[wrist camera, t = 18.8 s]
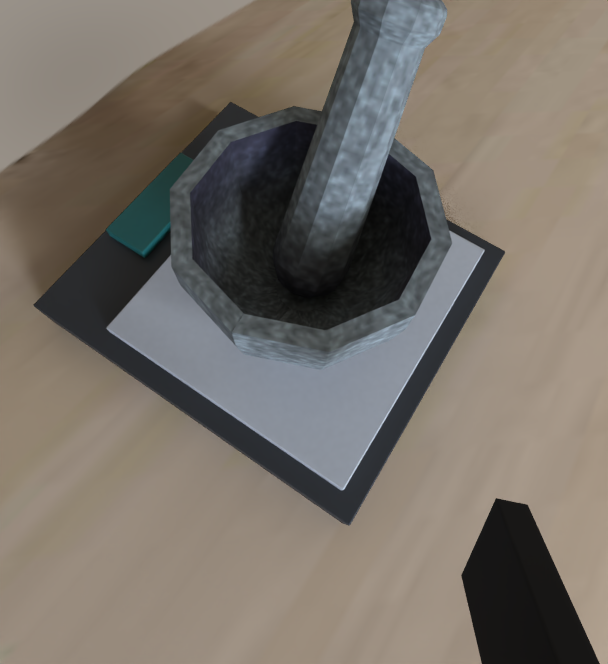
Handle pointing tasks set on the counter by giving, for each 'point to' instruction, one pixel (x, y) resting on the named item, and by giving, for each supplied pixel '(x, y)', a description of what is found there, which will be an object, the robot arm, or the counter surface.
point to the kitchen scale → (253, 372)
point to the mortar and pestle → (319, 208)
